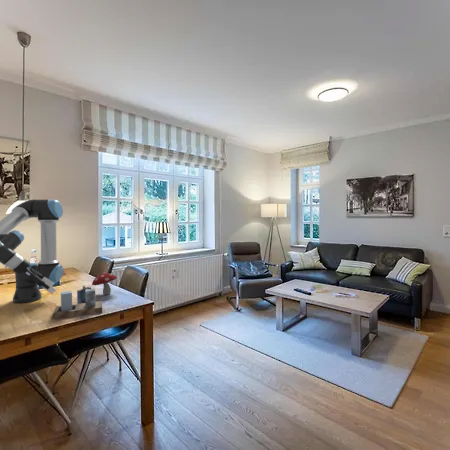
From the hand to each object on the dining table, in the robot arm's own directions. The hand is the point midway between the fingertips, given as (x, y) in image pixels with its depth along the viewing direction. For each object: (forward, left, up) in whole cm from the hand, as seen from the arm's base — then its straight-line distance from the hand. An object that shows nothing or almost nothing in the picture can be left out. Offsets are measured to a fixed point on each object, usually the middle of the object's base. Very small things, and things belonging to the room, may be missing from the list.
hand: (53, 288), depth 153 cm
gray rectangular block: (+6, +1, -15) cm, 16 cm away
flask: (+14, +18, -15) cm, 28 cm away
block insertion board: (+12, +1, -15) cm, 19 cm away
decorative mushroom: (+26, +32, -15) cm, 44 cm away
